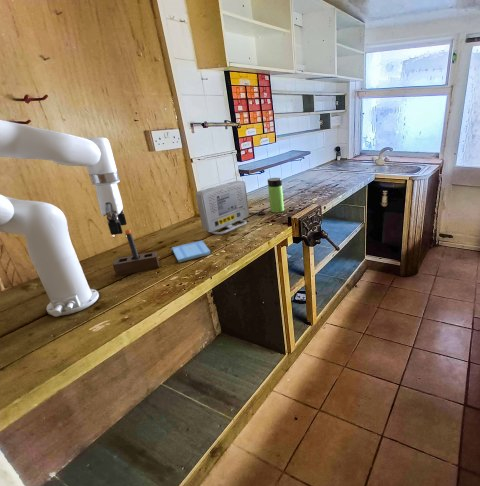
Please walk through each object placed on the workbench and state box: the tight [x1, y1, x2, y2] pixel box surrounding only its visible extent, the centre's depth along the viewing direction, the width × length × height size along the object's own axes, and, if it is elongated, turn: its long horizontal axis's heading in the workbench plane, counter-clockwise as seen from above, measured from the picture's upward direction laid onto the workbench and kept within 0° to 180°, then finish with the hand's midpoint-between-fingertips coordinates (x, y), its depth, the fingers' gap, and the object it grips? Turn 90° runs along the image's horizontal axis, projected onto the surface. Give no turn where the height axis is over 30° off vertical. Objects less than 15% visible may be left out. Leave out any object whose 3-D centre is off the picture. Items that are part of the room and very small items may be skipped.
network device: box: [195, 179, 250, 235], centre depth 146 cm, size 26×9×20 cm, turn 148°
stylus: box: [124, 229, 139, 259], centre depth 110 cm, size 2×2×15 cm
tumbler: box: [267, 177, 285, 213], centre depth 167 cm, size 8×8×17 cm
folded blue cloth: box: [171, 240, 211, 263], centre depth 124 cm, size 14×12×1 cm
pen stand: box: [112, 250, 160, 277], centre depth 112 cm, size 5×13×4 cm, turn 114°
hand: (119, 229), depth 105 cm, fingers open, 9 cm apart
